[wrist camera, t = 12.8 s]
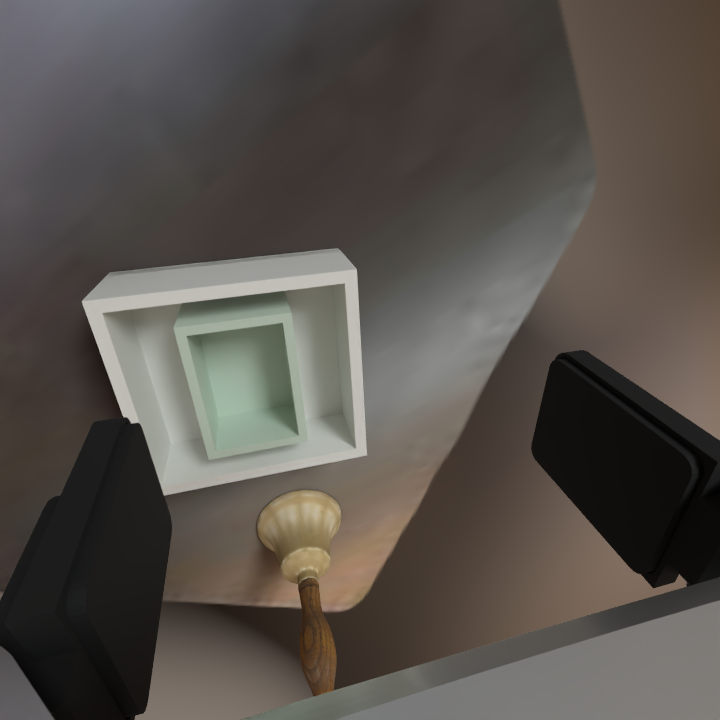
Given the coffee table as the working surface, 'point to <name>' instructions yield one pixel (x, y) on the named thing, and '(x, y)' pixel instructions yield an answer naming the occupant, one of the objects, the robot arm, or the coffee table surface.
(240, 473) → the big crate
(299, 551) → the hand bell
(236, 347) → the small crate
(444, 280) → the coffee table surface
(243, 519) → the coffee table surface
